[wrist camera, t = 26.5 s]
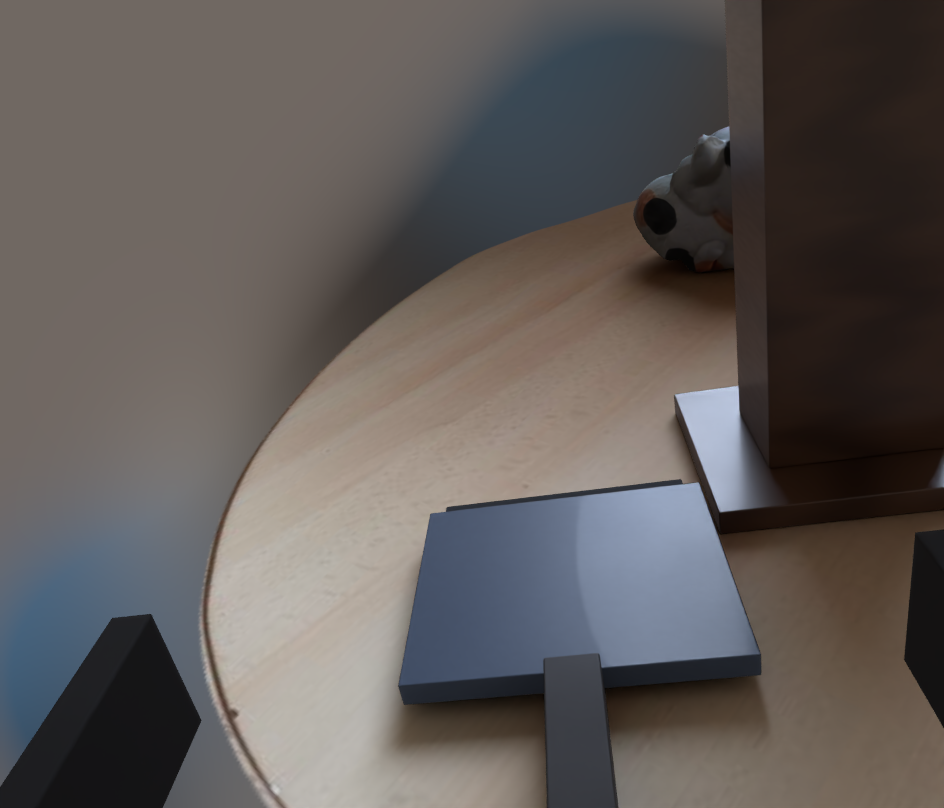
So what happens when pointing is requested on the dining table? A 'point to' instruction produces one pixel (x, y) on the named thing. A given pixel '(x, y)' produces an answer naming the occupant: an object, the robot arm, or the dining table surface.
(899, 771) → the dining table surface
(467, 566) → the lid
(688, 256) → the lucky cat figurine
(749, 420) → the box on pedestal
